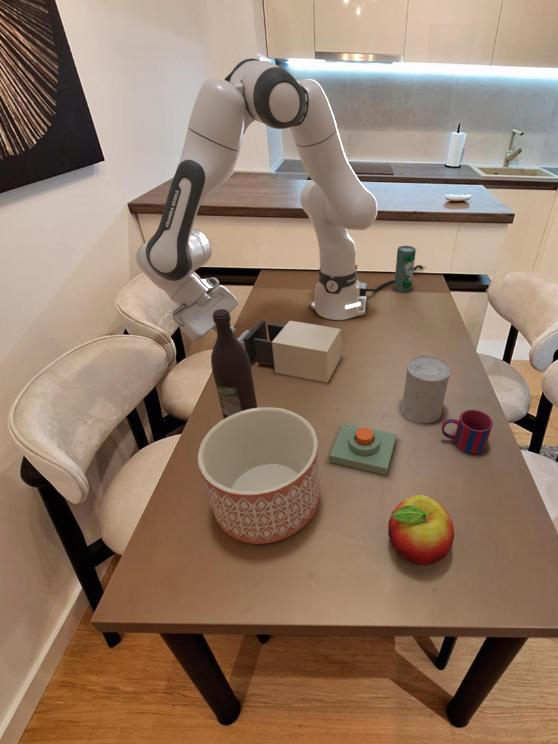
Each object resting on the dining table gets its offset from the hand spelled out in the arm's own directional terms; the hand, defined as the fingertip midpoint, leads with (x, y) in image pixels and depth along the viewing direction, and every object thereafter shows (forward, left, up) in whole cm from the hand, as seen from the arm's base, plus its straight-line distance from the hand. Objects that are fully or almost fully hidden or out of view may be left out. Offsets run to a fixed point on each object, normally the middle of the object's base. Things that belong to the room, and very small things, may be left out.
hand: (232, 334), depth 110 cm
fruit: (+44, +58, -6) cm, 73 cm away
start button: (+26, +44, -2) cm, 51 cm away
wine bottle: (+29, +18, -6) cm, 35 cm away
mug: (+17, +64, -6) cm, 67 cm away
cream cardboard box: (0, +22, -6) cm, 23 cm away
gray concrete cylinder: (+9, +54, -6) cm, 55 cm away
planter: (+43, +30, -6) cm, 53 cm away
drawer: (0, +11, -5) cm, 12 cm away
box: (+26, +44, -6) cm, 52 cm away
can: (-57, +38, -6) cm, 69 cm away
